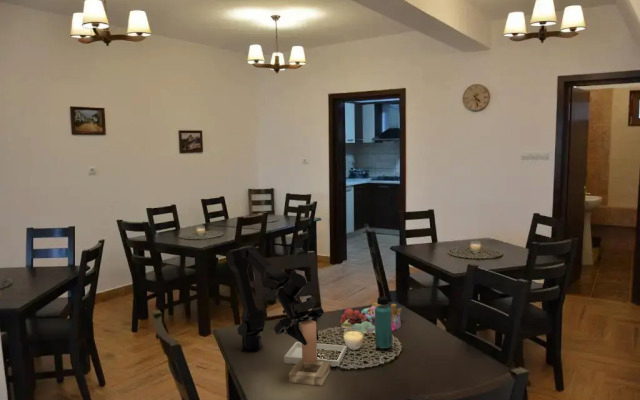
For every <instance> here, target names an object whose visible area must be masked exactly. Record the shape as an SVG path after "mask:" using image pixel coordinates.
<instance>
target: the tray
mask: <svg viewBox="0 0 640 400" xmlns="http://www.w3.org/2000/svg"><path fill="white" fill-rule="evenodd" d="M347 348H348V346H347V345H341V344H328V343H318V342H317V349H324V350H337V351H341V353H340V355H339V357H338V359H337V360H327V359H323V357H322V359H320V358H319V357H317V358H318V359H317V361H320V362H330V365H331V366H339V364H340V362H341V360H342V358H343V357H344V355H345V353H346V351H347V352H348V349H347ZM346 354H347V353H346ZM318 355H320V354H318ZM322 355H324V354H322ZM345 356H346V355H345ZM344 358H345V357H344ZM298 360H302V343H301V342H299V341H295V342H294V344H293V345H292V346H291V347H290V349H289V350H288V351H287V352H286V353H285V355H284V358H283V361H284V364H289V365H296V363H297V362H298ZM339 367H340V366H339Z"/></svg>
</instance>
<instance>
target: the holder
mask: <svg viewBox="0 0 640 400" xmlns="http://www.w3.org/2000/svg"><path fill="white" fill-rule="evenodd" d="M330 372H331V368H330V362H320V361H316V362H314V363H305V362H303V361H302V360H298V362H297V363H296V364H294V366H293V368H292V369H291V370H290V372H289V373H288V382H289V383H292V384H300V385H301V384H303V385H309V386H311V385H312V386H320V387H322V386H323V384H324V383H325V381H326V379H327V377H328V375H329V374H330Z"/></svg>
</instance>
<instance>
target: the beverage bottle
mask: <svg viewBox="0 0 640 400" xmlns="http://www.w3.org/2000/svg"><path fill="white" fill-rule="evenodd" d="M376 302H377V304H380V305H379V306H377V307H376V308H375V335H374V339H375V340H374V341H375V342H374V343H375V346H376V347H377V348H380V349H388V348H391V347H392V345H393V333H392V332H393V331H392V322H391V306H389V298H388V297H387V296H379V297H377V301H376Z"/></svg>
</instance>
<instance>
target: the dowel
mask: <svg viewBox="0 0 640 400" xmlns="http://www.w3.org/2000/svg"><path fill="white" fill-rule="evenodd" d="M300 324H301V327H300V328H301V329H300V331H301V333H302V334H303V336H304V338H305V340H306V343H307V344H306V345H303V344H302V361H303V362H305V363H314V362H316V361H317V343H318V342H317V336H316V325H317V322H315V321H312V320H306V321H303V322H301V323H300Z"/></svg>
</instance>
